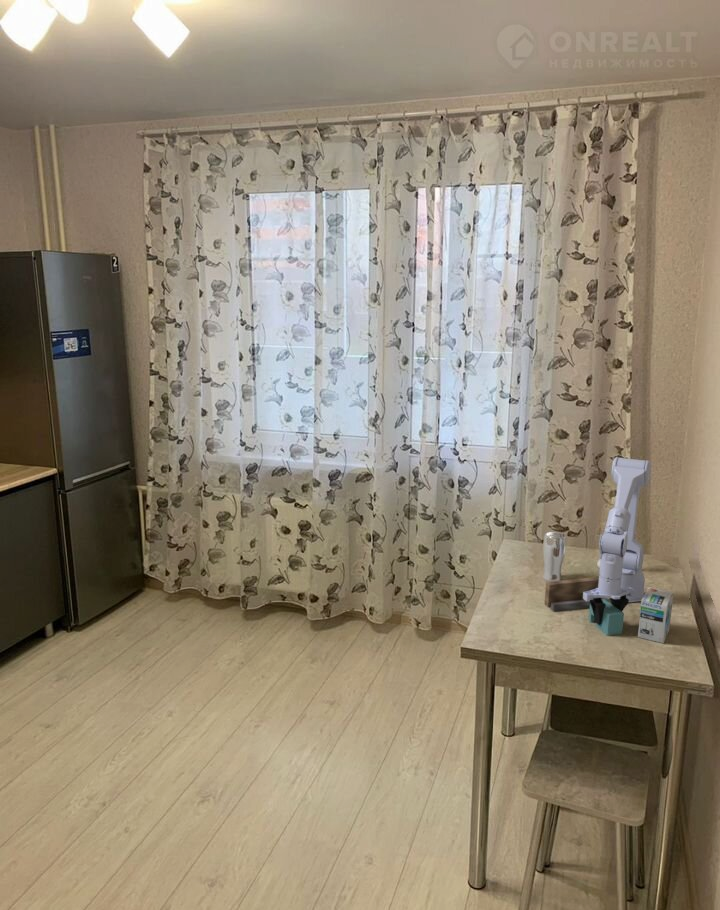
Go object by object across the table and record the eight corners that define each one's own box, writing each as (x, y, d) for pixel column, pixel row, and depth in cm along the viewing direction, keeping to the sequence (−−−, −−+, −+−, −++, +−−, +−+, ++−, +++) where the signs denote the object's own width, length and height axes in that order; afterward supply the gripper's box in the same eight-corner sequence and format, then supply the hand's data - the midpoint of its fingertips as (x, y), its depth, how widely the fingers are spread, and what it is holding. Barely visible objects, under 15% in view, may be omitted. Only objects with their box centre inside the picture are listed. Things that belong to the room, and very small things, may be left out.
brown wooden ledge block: (598, 598, 207) (600, 576, 205) (608, 605, 202) (610, 583, 201) (544, 604, 203) (546, 582, 201) (553, 611, 198) (554, 589, 196)
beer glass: (565, 577, 223) (569, 533, 219) (559, 584, 217) (562, 539, 214) (544, 572, 226) (547, 529, 223) (537, 579, 221) (540, 535, 217)
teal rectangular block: (602, 619, 194) (604, 599, 192) (622, 633, 185) (624, 613, 184) (588, 620, 192) (590, 600, 191) (607, 635, 184) (609, 614, 183)
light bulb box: (663, 644, 180) (668, 606, 177) (636, 637, 183) (640, 600, 181) (670, 628, 188) (674, 591, 186) (644, 622, 192) (648, 586, 190)
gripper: (595, 584, 180) (590, 631, 183) (643, 579, 183) (638, 625, 186) (580, 573, 186) (576, 620, 189) (626, 569, 190) (622, 614, 193)
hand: (606, 622), depth 188 cm, fingers closed on teal rectangular block, 4 cm apart
